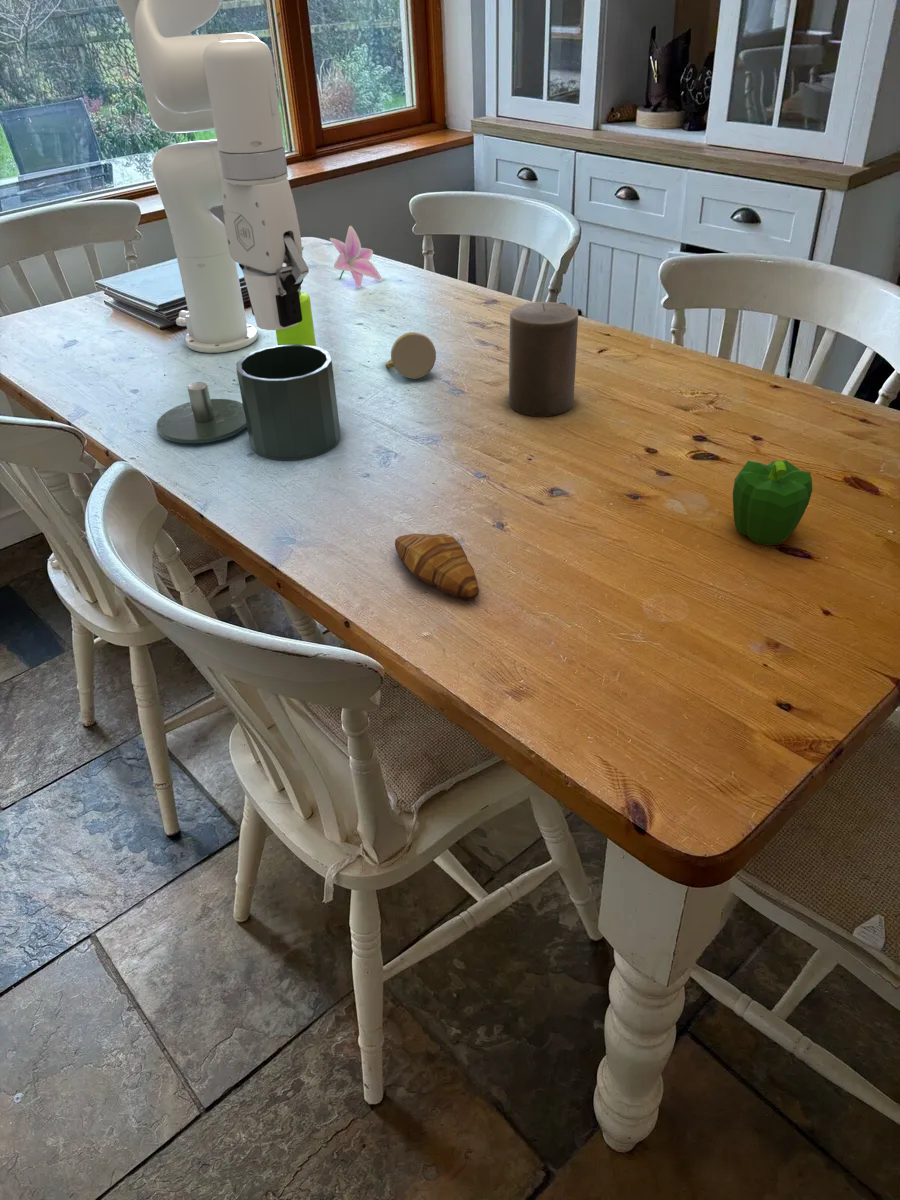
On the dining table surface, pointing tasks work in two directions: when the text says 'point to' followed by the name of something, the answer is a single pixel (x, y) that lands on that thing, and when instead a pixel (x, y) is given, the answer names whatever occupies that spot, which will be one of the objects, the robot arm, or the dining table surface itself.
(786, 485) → the bell pepper
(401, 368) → the mug
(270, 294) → the white cup
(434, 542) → the croissant
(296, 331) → the soap dispenser
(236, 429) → the lid
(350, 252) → the lily
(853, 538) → the dining table surface
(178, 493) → the dining table surface
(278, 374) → the canister
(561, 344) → the pillar candle
